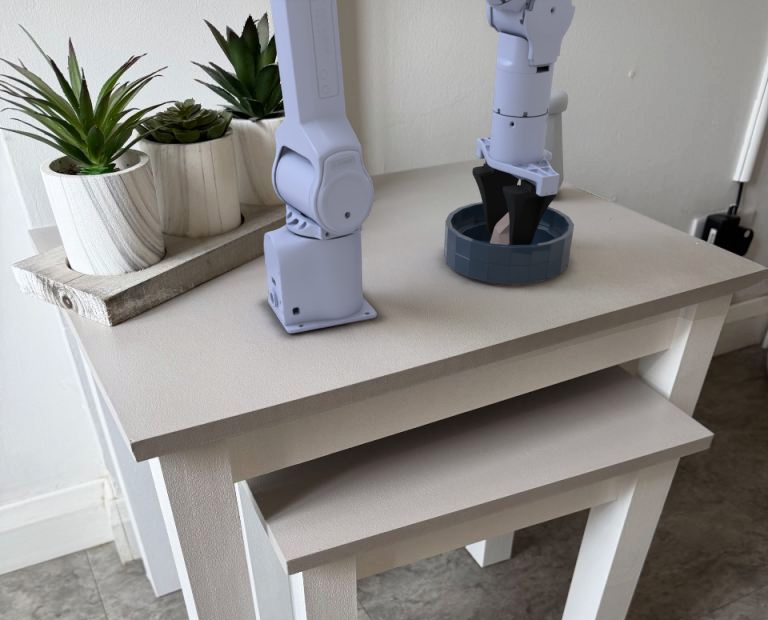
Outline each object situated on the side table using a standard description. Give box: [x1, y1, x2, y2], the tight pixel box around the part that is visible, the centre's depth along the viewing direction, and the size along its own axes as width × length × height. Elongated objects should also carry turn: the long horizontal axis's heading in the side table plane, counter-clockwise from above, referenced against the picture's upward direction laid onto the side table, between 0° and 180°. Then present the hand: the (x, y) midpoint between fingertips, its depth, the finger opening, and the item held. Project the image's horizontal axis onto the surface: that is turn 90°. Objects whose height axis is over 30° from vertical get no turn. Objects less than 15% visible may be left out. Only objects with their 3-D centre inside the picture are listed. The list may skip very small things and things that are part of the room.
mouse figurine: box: [490, 212, 510, 245], centre depth 89 cm, size 5×8×7 cm, turn 47°
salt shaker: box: [544, 87, 569, 191], centre depth 104 cm, size 6×6×13 cm
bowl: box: [443, 201, 575, 285], centre depth 90 cm, size 14×14×4 cm
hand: (507, 240), depth 90 cm, fingers open, 5 cm apart
